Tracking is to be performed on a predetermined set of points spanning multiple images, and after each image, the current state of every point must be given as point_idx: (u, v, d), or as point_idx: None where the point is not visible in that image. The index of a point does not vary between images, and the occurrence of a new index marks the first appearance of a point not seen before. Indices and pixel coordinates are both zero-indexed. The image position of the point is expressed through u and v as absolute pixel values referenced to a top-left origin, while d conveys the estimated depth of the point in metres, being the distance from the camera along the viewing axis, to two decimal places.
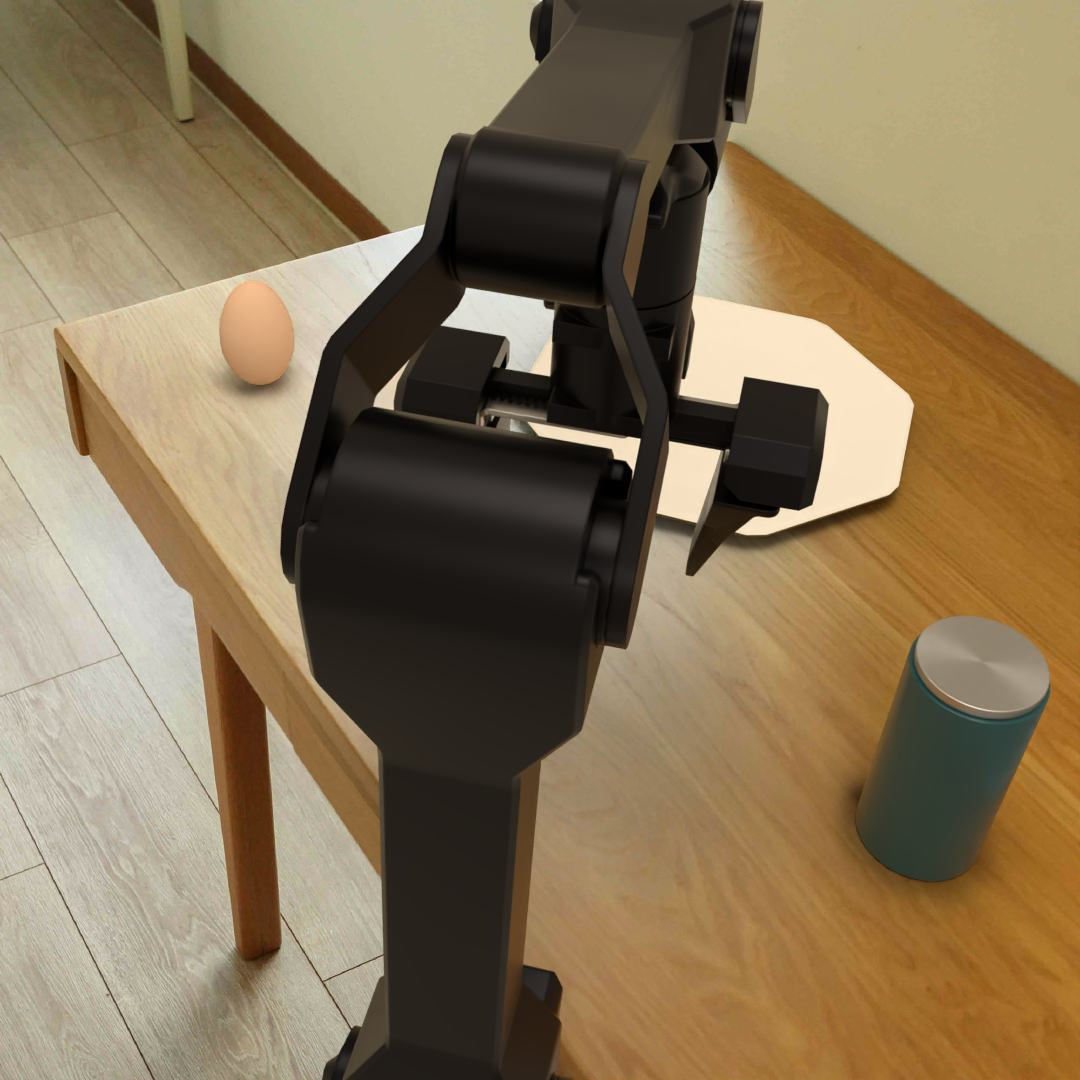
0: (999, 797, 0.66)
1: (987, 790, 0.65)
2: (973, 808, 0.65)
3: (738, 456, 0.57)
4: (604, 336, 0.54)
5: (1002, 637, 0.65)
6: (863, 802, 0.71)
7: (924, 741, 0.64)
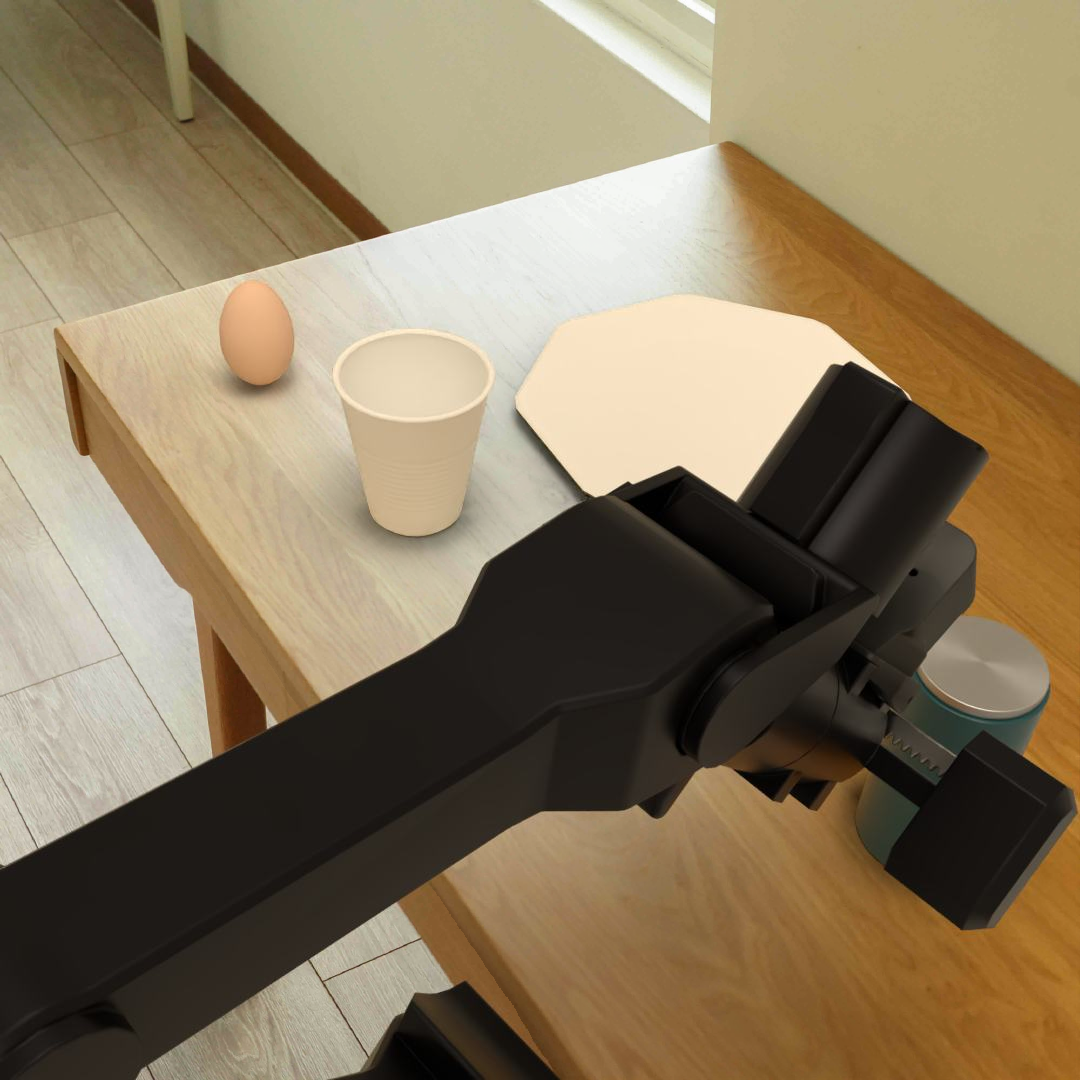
0: None
1: None
2: None
3: (895, 869, 0.48)
4: None
5: (1002, 637, 0.65)
6: (863, 802, 0.71)
7: None
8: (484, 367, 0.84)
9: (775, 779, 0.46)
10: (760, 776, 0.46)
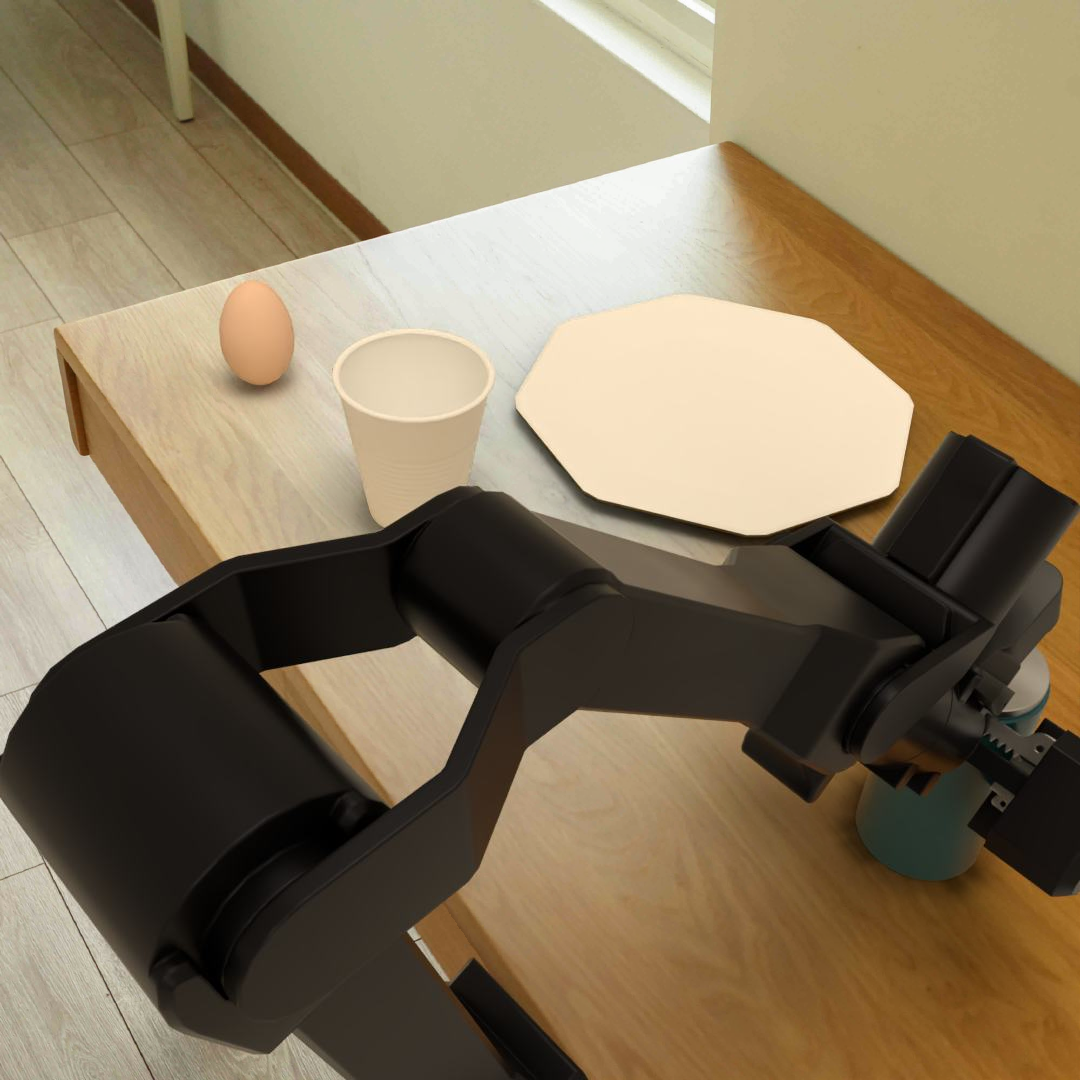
0: None
1: (987, 789, 0.65)
2: (973, 808, 0.65)
3: (993, 846, 0.57)
4: None
5: None
6: (863, 802, 0.71)
7: None
8: (484, 367, 0.84)
9: (897, 771, 0.55)
10: (884, 768, 0.55)
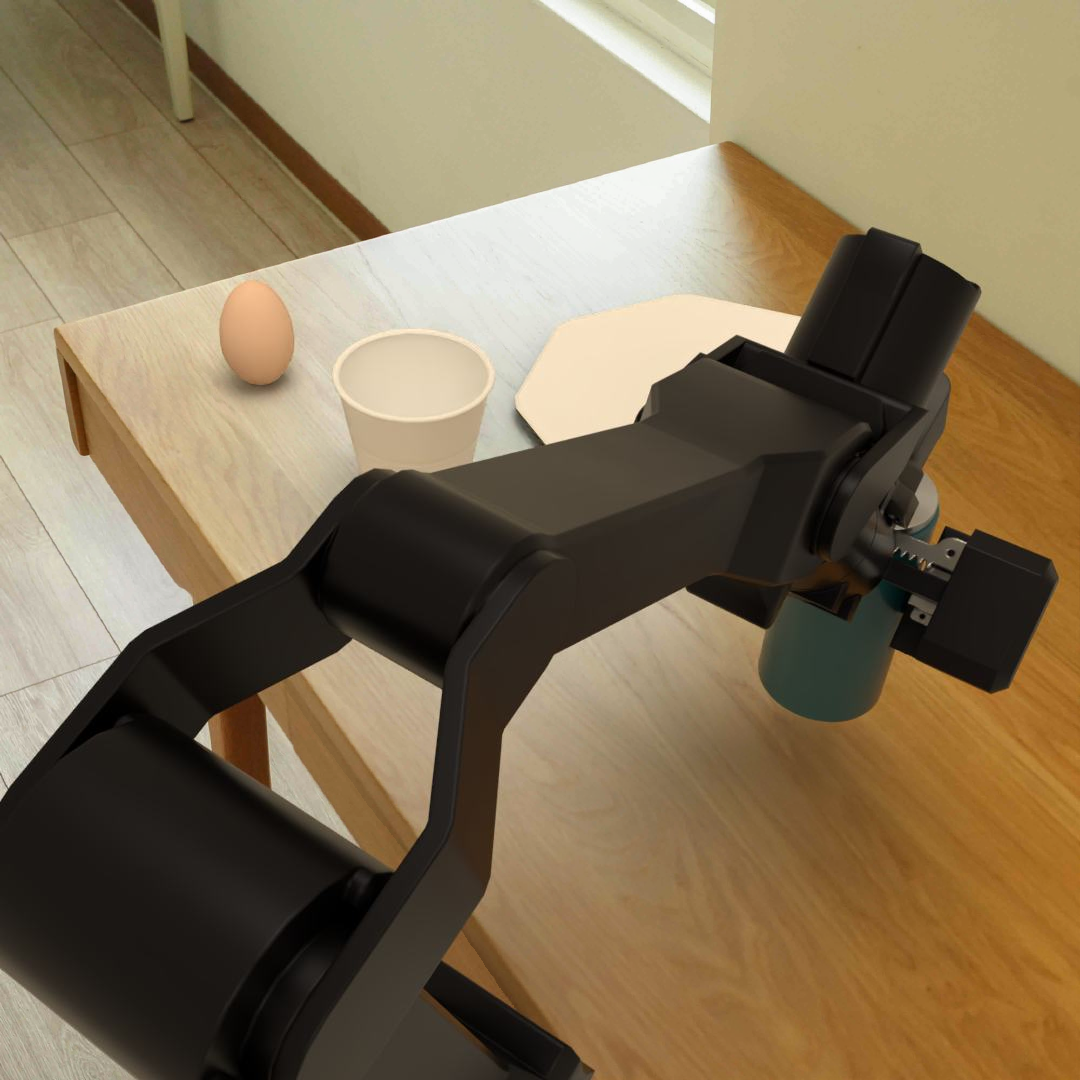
0: None
1: (892, 614, 0.65)
2: (881, 636, 0.66)
3: (925, 656, 0.57)
4: None
5: None
6: (767, 657, 0.70)
7: None
8: (484, 367, 0.84)
9: (831, 592, 0.54)
10: (818, 593, 0.54)
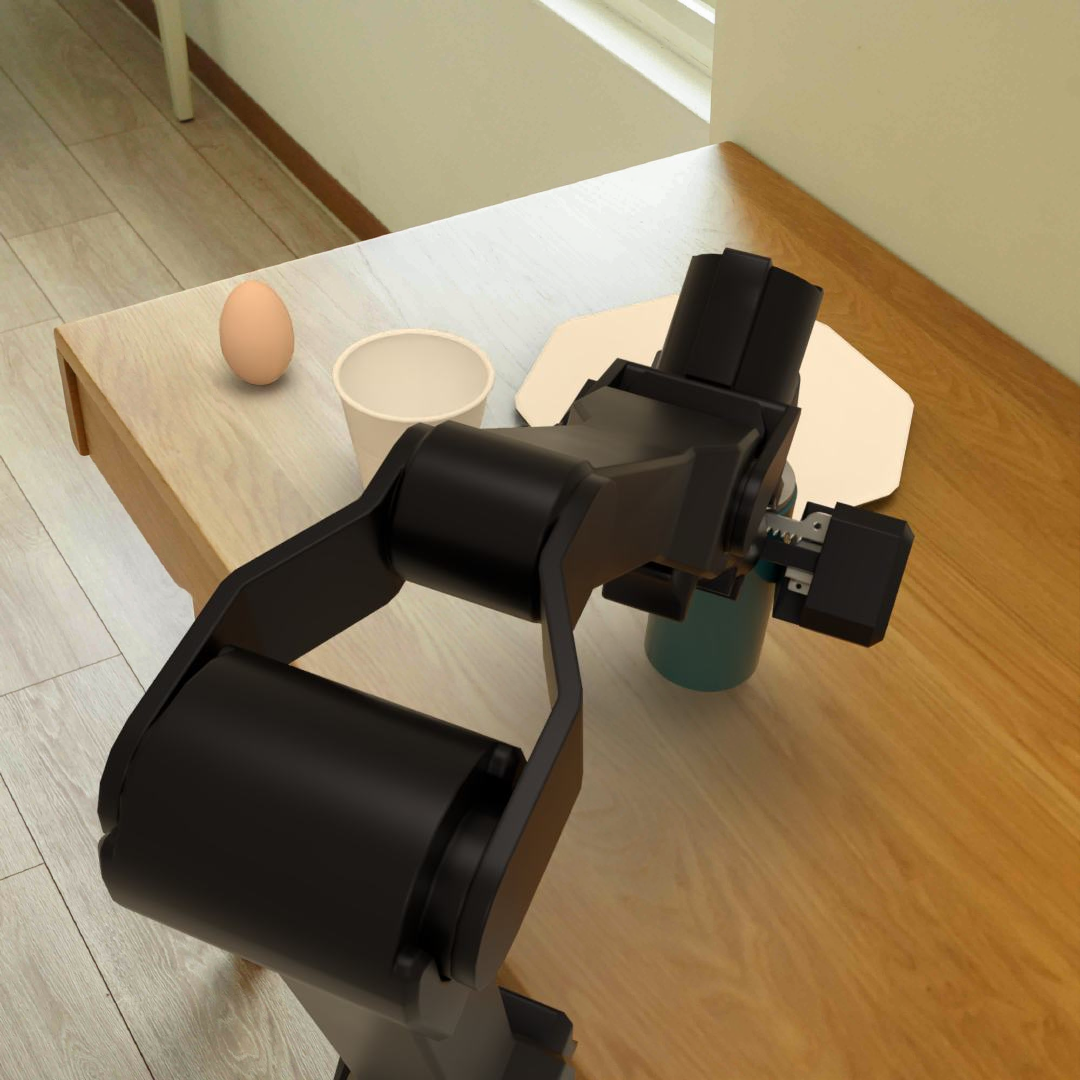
0: None
1: (766, 585, 0.71)
2: (757, 607, 0.71)
3: (808, 622, 0.63)
4: None
5: None
6: (654, 640, 0.75)
7: None
8: (484, 367, 0.84)
9: (724, 578, 0.59)
10: (711, 580, 0.59)
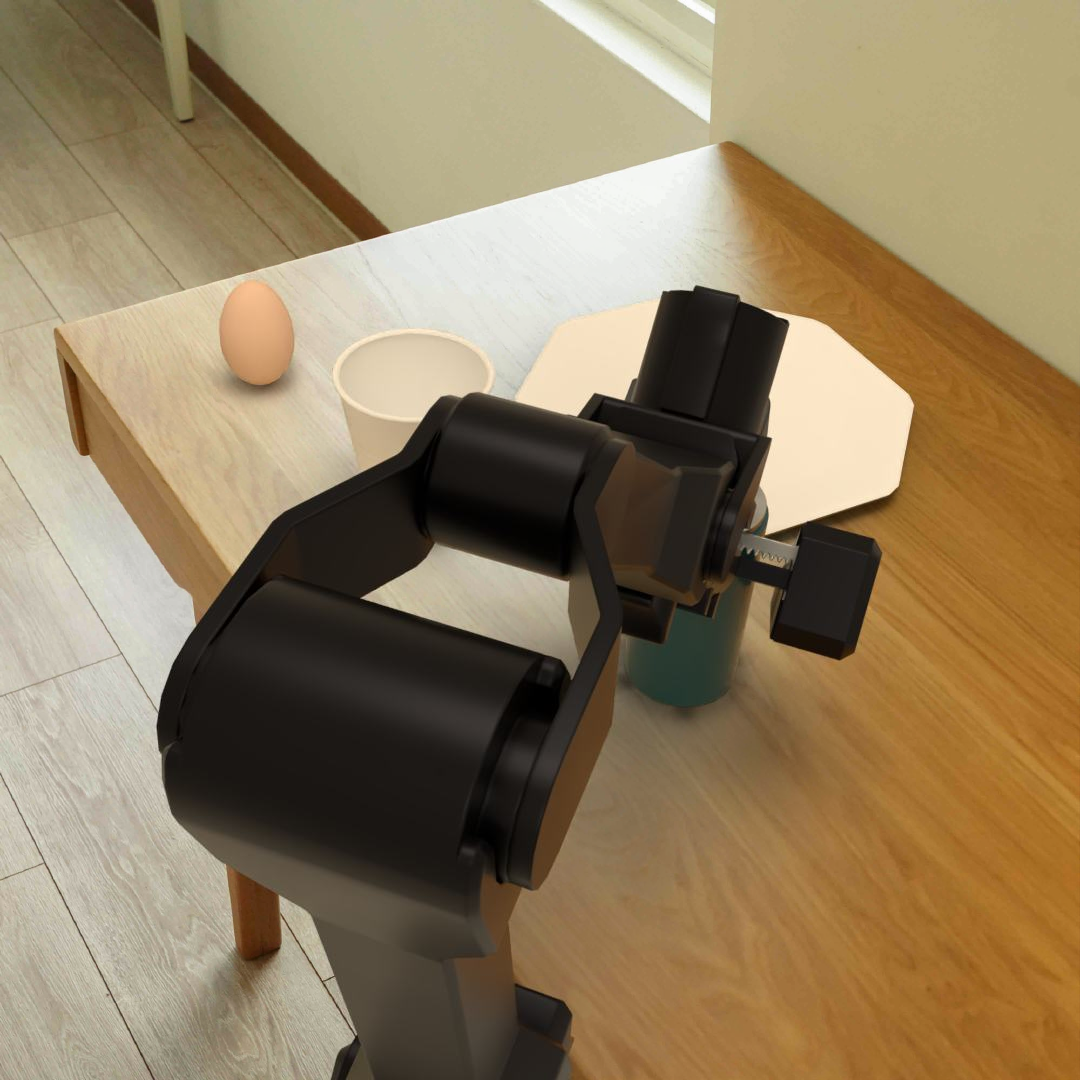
0: (747, 609, 0.75)
1: (740, 605, 0.73)
2: (732, 625, 0.74)
3: (782, 637, 0.66)
4: None
5: None
6: (633, 657, 0.78)
7: None
8: (484, 367, 0.84)
9: (701, 599, 0.62)
10: None
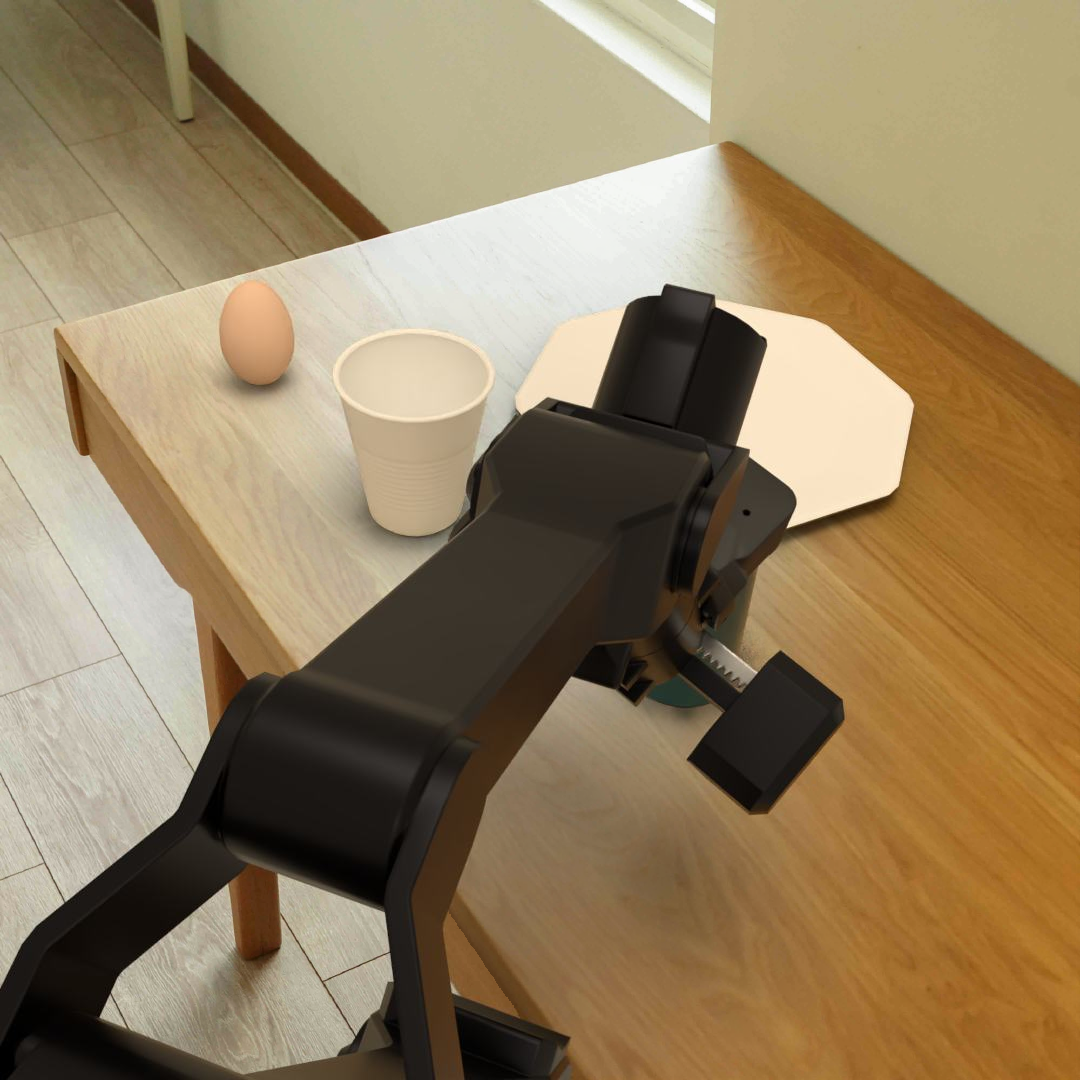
0: (747, 609, 0.75)
1: (740, 605, 0.73)
2: (732, 625, 0.74)
3: (699, 759, 0.57)
4: None
5: None
6: None
7: None
8: (484, 367, 0.84)
9: (629, 668, 0.53)
10: None
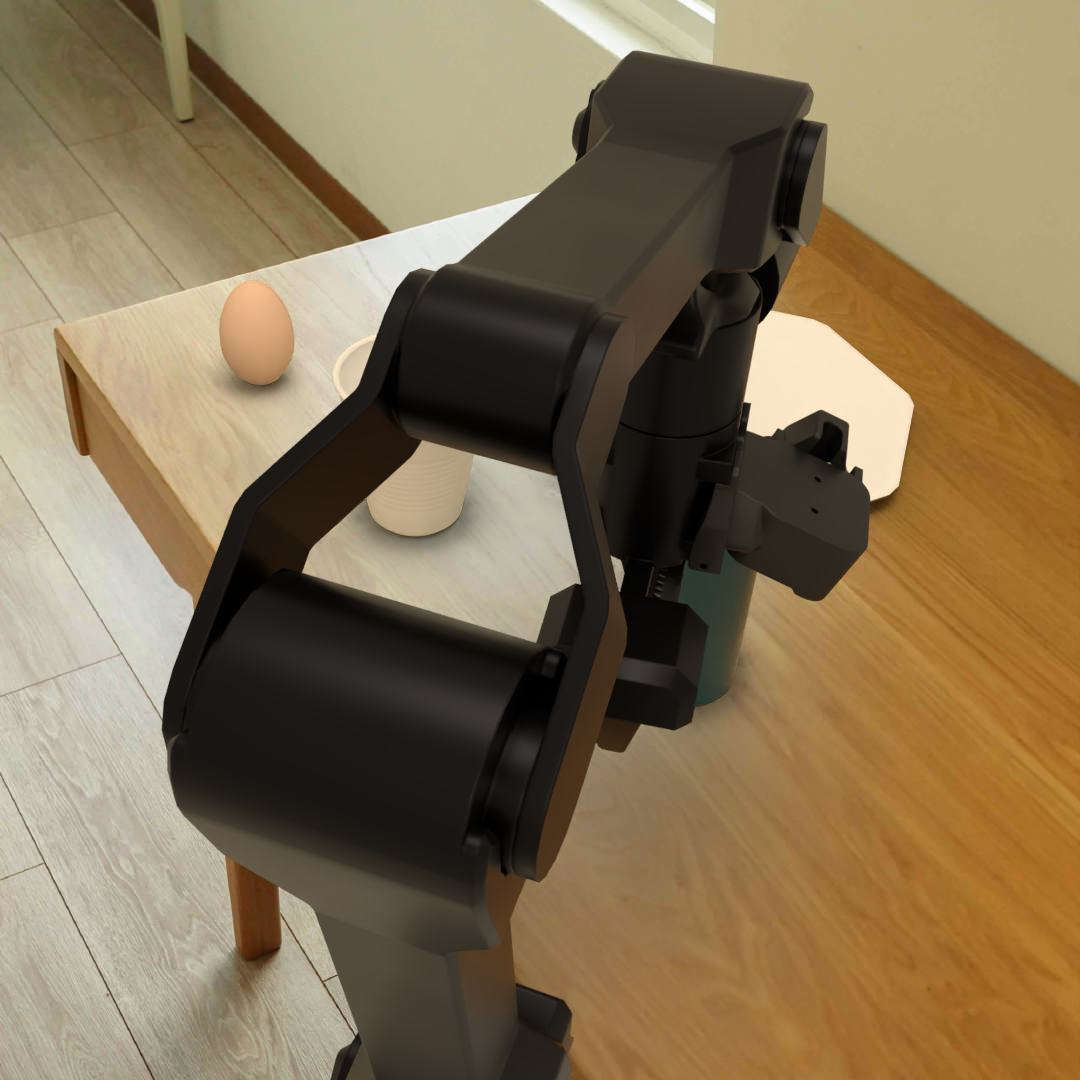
0: (747, 609, 0.75)
1: (740, 605, 0.73)
2: (732, 625, 0.74)
3: (556, 599, 0.51)
4: None
5: None
6: None
7: (683, 580, 0.71)
8: None
9: None
10: None
